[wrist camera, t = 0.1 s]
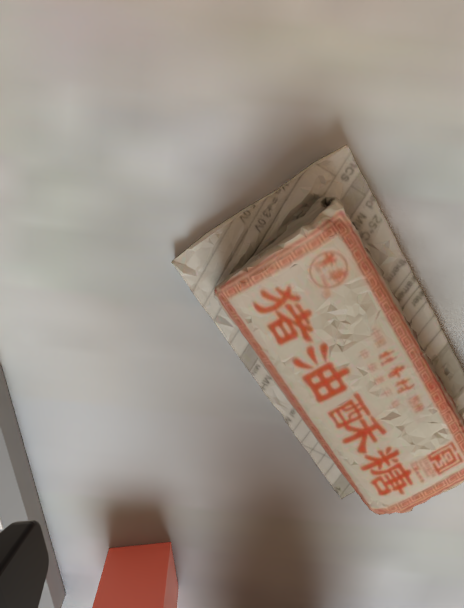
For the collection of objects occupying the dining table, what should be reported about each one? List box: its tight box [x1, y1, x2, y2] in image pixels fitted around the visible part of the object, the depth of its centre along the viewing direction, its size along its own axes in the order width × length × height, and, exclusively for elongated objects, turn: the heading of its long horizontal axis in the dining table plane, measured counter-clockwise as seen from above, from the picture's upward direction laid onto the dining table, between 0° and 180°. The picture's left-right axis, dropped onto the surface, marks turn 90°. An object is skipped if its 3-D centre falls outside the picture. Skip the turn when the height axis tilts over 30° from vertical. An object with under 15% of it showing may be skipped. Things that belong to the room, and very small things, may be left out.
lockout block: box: [92, 542, 178, 608], centre depth 24 cm, size 4×4×5 cm
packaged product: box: [172, 145, 464, 515], centre depth 20 cm, size 18×5×10 cm
